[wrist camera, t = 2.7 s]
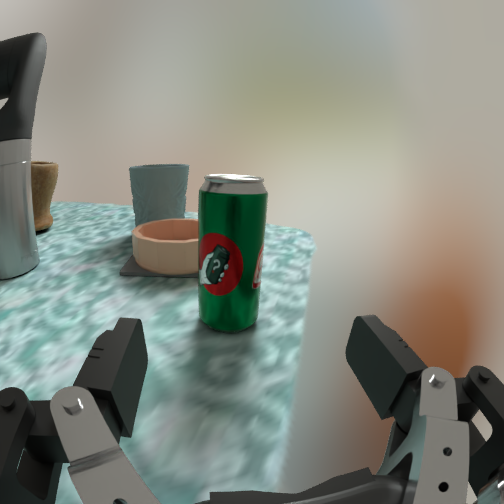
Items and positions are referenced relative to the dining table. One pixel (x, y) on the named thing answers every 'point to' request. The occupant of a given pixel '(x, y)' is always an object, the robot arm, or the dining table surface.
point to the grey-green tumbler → (158, 191)
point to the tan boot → (43, 192)
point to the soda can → (230, 250)
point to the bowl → (167, 246)
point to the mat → (135, 270)
